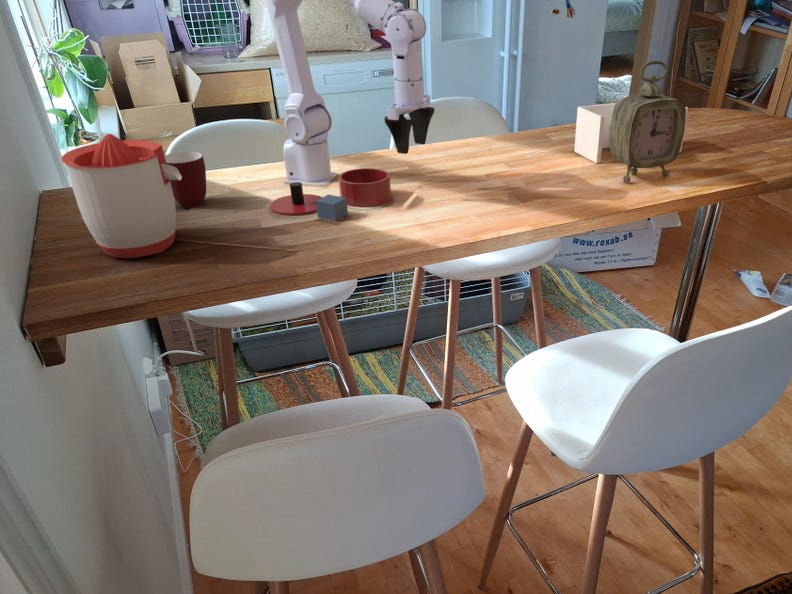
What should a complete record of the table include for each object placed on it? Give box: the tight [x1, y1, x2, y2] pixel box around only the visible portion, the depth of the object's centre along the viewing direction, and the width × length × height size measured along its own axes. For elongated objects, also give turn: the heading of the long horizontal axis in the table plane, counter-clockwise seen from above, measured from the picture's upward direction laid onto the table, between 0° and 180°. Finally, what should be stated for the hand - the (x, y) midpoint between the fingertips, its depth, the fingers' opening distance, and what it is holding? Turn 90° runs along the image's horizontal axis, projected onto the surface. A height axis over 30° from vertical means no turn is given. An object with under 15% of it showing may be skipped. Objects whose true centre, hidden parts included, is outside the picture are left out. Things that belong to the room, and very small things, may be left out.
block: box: [316, 194, 349, 222], centre depth 135 cm, size 4×4×4 cm
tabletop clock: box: [609, 60, 686, 184], centre depth 153 cm, size 14×9×25 cm, turn 114°
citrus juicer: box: [61, 133, 182, 259], centre depth 119 cm, size 16×17×20 cm
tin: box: [338, 167, 392, 208], centre depth 143 cm, size 10×10×5 cm
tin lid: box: [269, 182, 323, 216], centre depth 140 cm, size 11×11×5 cm
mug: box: [164, 151, 207, 210], centre depth 139 cm, size 11×8×10 cm
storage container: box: [573, 102, 689, 164], centre depth 174 cm, size 25×11×11 cm, turn 113°
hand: (411, 148), depth 143 cm, fingers open, 7 cm apart
